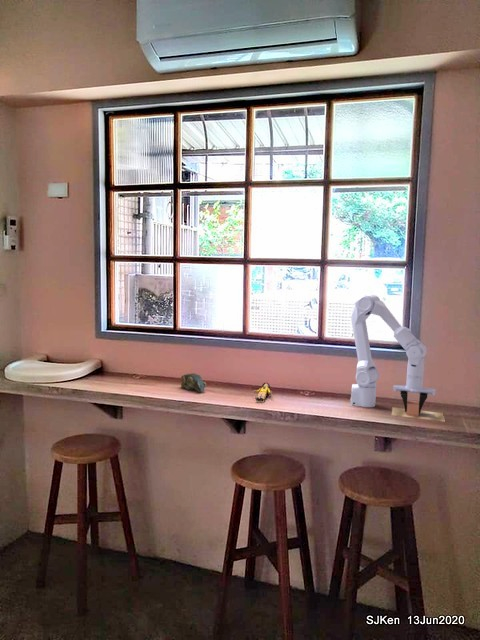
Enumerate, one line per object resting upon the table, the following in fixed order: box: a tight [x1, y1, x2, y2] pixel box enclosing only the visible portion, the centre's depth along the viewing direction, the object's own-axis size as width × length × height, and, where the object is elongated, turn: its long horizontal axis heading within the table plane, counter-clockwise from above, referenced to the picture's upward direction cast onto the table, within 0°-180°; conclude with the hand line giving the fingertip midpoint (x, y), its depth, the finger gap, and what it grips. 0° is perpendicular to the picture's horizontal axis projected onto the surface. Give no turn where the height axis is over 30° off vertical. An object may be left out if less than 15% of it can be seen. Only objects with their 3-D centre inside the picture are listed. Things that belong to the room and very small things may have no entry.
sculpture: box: [180, 373, 207, 394], centre depth 203 cm, size 13×6×7 cm, turn 39°
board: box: [391, 406, 446, 423], centre depth 173 cm, size 18×11×1 cm, turn 71°
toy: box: [252, 382, 273, 404], centre depth 194 cm, size 8×4×15 cm
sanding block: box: [407, 399, 419, 416], centre depth 174 cm, size 4×6×4 cm, turn 161°
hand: (412, 412), depth 174 cm, fingers closed on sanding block, 4 cm apart
